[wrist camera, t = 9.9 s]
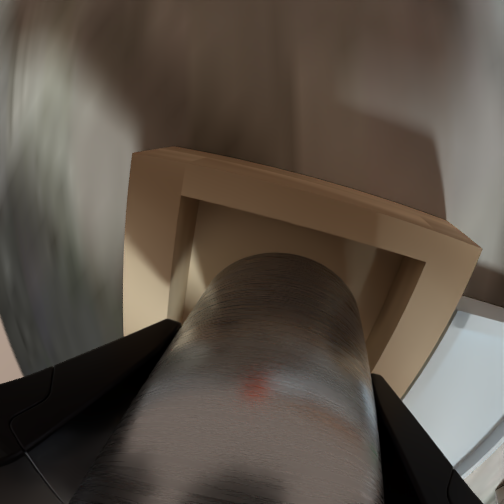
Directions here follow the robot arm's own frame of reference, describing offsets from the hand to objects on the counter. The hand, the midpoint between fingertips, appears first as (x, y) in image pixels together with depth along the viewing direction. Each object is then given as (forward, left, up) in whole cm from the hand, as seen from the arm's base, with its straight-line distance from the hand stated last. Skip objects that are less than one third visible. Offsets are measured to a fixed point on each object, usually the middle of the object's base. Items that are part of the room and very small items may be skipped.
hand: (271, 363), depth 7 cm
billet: (0, 0, -2) cm, 2 cm away
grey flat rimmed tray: (-5, -10, -4) cm, 12 cm away
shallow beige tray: (-4, 0, -4) cm, 6 cm away
